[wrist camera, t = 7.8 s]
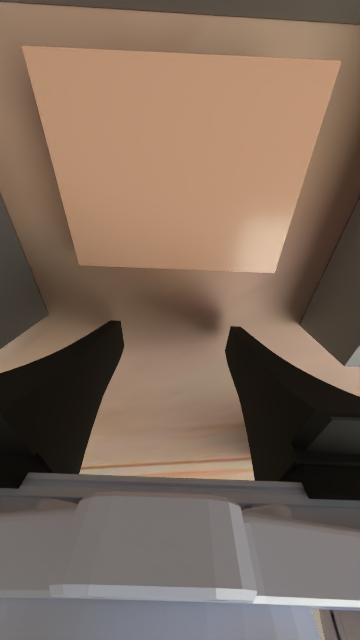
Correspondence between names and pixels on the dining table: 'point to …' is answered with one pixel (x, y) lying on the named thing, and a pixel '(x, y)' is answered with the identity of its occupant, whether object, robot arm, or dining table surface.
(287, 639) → the robot arm
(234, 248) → the tan flat block
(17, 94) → the dining table surface
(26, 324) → the box
